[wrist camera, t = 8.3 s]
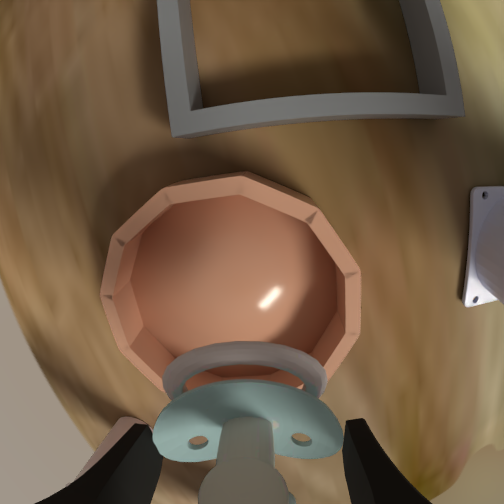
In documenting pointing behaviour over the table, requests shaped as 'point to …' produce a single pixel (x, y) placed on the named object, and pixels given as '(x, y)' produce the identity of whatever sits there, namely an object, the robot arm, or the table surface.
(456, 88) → the gray square frame
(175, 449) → the pacifier
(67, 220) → the table surface
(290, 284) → the bowl
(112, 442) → the smoothie
